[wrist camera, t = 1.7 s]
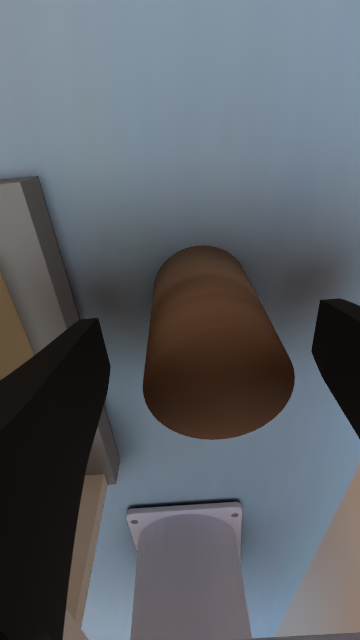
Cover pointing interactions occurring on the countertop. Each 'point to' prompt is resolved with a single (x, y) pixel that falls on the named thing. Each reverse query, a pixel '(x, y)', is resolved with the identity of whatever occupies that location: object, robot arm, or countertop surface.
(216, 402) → the peg
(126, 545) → the countertop surface
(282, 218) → the countertop surface
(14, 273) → the socket stand
